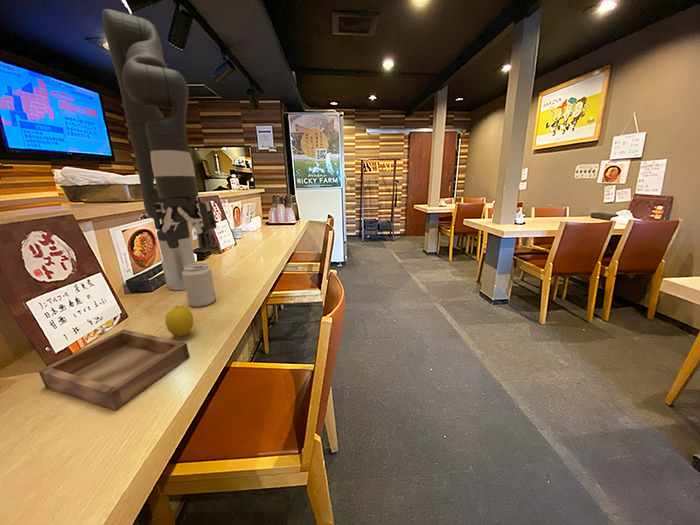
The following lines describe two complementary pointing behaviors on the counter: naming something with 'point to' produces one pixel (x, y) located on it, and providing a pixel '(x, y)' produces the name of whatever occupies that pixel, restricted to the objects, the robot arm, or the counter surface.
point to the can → (199, 284)
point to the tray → (115, 368)
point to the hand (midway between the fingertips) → (189, 248)
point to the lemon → (179, 321)
